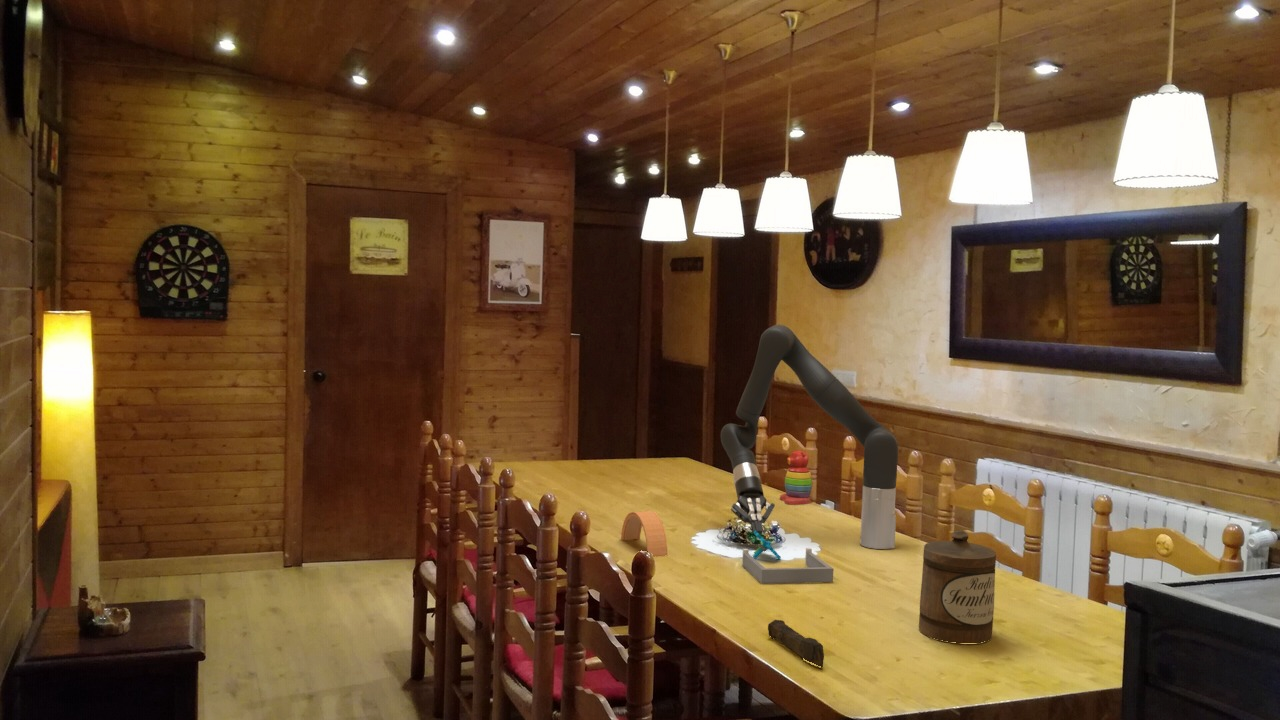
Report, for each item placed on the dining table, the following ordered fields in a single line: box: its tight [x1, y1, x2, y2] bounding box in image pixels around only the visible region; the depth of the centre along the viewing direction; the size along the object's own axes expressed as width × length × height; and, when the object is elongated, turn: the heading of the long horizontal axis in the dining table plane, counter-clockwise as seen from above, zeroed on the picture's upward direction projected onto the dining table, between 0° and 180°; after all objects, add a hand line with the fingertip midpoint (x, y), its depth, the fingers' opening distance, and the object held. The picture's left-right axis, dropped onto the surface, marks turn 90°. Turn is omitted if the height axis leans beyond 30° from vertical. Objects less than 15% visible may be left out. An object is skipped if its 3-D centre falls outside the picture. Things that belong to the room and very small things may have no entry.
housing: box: [741, 547, 834, 585], centre depth 253 cm, size 17×18×4 cm
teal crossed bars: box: [752, 530, 782, 560], centre depth 268 cm, size 11×6×10 cm
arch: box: [620, 510, 668, 558], centre depth 275 cm, size 6×20×10 cm, turn 22°
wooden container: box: [918, 529, 997, 643], centre depth 210 cm, size 15×15×22 cm
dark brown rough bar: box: [767, 619, 825, 667], centre depth 196 cm, size 19×4×5 cm, turn 17°
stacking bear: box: [779, 449, 813, 506], centre depth 346 cm, size 11×10×18 cm
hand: (758, 534), depth 277 cm, fingers closed
